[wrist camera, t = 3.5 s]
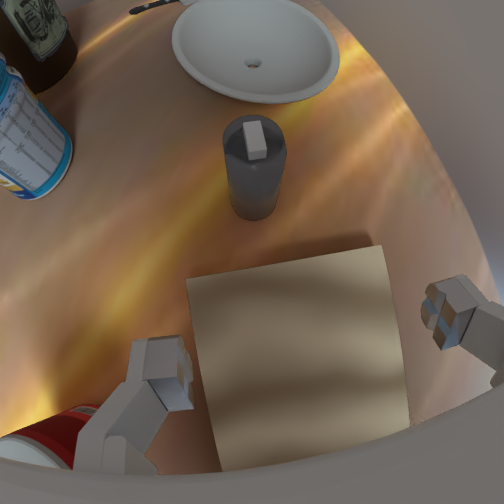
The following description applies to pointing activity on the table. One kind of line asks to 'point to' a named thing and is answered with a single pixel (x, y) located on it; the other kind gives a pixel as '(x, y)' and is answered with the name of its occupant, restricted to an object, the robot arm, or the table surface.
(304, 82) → the dish
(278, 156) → the dark grey cylinder
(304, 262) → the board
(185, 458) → the table surface
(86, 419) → the canned food
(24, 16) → the olive oil
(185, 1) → the chef's knife
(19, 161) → the beverage bottle
